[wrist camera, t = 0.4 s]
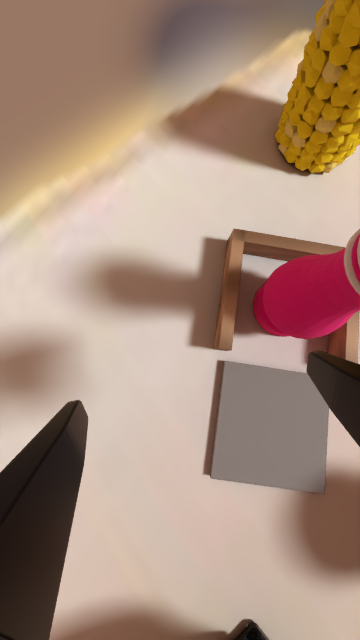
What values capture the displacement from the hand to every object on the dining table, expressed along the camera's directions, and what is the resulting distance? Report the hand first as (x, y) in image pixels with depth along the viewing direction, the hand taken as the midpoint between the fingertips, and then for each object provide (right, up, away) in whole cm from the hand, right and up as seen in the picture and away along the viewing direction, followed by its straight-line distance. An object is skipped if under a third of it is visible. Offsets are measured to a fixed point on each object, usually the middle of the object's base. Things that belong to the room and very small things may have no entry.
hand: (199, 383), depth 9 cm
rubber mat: (+8, -8, +14) cm, 18 cm away
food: (+15, +24, +20) cm, 35 cm away
